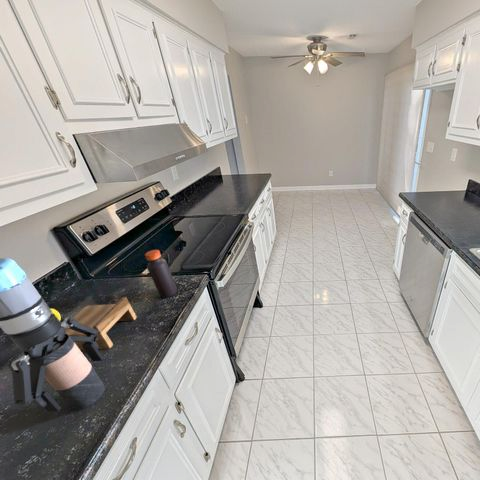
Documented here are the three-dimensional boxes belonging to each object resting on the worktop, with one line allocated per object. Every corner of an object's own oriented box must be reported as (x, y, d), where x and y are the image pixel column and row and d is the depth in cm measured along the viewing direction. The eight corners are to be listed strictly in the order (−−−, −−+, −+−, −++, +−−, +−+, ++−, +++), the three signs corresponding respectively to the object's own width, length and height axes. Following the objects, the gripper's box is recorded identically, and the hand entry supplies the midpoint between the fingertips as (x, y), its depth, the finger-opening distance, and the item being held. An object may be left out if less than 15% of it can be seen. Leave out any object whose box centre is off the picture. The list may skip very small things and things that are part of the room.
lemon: (43, 333, 92) (30, 317, 88) (46, 324, 96) (34, 308, 92) (63, 326, 94) (52, 310, 91) (66, 317, 98) (54, 302, 95)
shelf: (63, 350, 84) (46, 328, 79) (95, 319, 96) (83, 299, 92) (110, 348, 84) (96, 326, 79) (137, 317, 96) (126, 296, 92)
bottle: (172, 297, 105) (155, 256, 96) (156, 298, 106) (138, 257, 96) (180, 287, 111) (165, 248, 102) (165, 288, 112) (148, 249, 102)
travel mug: (112, 388, 71) (76, 338, 62) (80, 415, 65) (35, 364, 56) (96, 378, 74) (60, 329, 65) (65, 403, 68) (20, 353, 59)
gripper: (-19, 373, 46) (47, 436, 55) (91, 287, 68) (124, 342, 78) (-58, 375, 46) (14, 437, 56) (64, 289, 68) (100, 344, 78)
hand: (78, 382), depth 67 cm, fingers open, 13 cm apart
